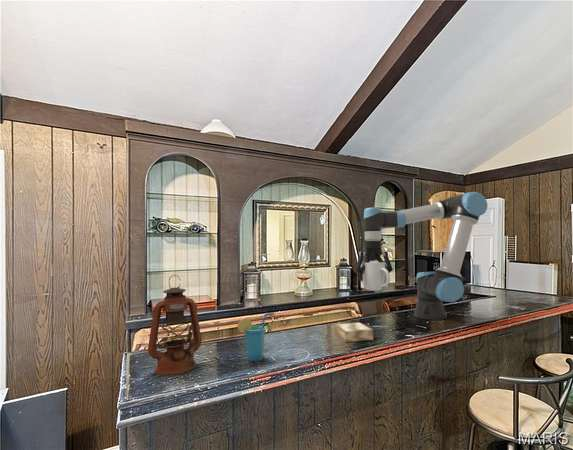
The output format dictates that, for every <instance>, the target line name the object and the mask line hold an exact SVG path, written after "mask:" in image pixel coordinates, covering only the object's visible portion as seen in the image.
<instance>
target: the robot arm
mask: <svg viewBox="0 0 573 450" xmlns="http://www.w3.org/2000/svg"><path fill="white" fill-rule="evenodd" d="M487 210H488V201H487V199H486V198H485V196H484V195H483V194H482V193H480V192H477V191H471V192H469V191H468V192H465V193H461V194H457V195H453V196H450V197H448V198H445V199H441V200H437V201H435V202H434V203H433V204H426V205H423V206H422V205H421V206H417V207H411V208H407V209H402V210H396V211H381V209H380V207H367V208H364V210H363V224H364V226H363V227H364V240H365V241H364V249H365V250H364V251H359V252H358V259H357V261H356V266H355V269H354V273H357V274H358V281H360V288H362V289H366V288H365V274H363V272H364V270H365V265H363V266H361V264H362V262H364V263H369V262H370V261H378V262H379V263H381V262H385V269H387V270H388V272H389V274H390V273H391V272H394V269H393V267H392V263H391V260H390V258H389V257H390V256H389V251H386V250H383V251H382V241H381V240H382V230H384V229H392V228H395V229H396V228H398V229H399V228H404V227H405V226H406V225H408V224H413V223H414V224H415V223H419V222H425V221H428V220H434V219H435V220H436V219H437V220H443V219H444V220H445V219H452V221H453V222H452V226H451V228H450V233H449V236H448V238H447V243H446V246H445V249H444V250H445V251H444V253H443V256H442V260H441V263H440V267H438V268H435V271H423V272H421V271H420V272H417V274H416V279H415V280H416V290H417V291H416V293H417V302H416V305H415V308H414V317H415V318H418V319H423V320H430V321H438V320H439V321H440V320H445V319H447V312H446V308H445V305H444V303H443V302H446V303H447V302H448V303H453V302H456V301H459V300H460V299H461V298H462V297H463V295H464V292H465V286H464V285H463V284H464V283H463V282H462V279H463V276H462V274H461V270H462V266H463V262H464V258H465V255H466V251H467V248H468V244H469V241H470V237H471V234H472V230H473V227H474V225H475V224H478V222H479V219H480V216H483V215H484V214H485V213H486V211H487ZM364 257H365V258H364ZM382 257H383V258H382ZM386 282H387V276H386V273H385V281H384V284H385V283H386ZM383 288H389V284H388V285H387V286H383Z"/></svg>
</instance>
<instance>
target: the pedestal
mask: <svg viewBox="0 0 573 450" xmlns="http://www.w3.org/2000/svg"><path fill="white" fill-rule="evenodd" d="M334 334H335V335H336V336H337V337H338V338H340V339H341V340H342V341H344V342H345V343H351V342H359V341H360V342H361V341H363V342H364V341H372V340H373V341H374V329H373V328H371V327H369V326H367V325H366V324H364V323H362V322H349V323H337V324H336V323H335V324H334Z"/></svg>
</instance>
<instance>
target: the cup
mask: <svg viewBox="0 0 573 450" xmlns="http://www.w3.org/2000/svg"><path fill="white" fill-rule="evenodd" d="M267 316H269V317H270V316H271V317H274V316H275V313H273V312H266V313H264V315H263V317H262V321H261V323H260V324H252V321H251V320H250V319H249V318H246V317H245V318H242V319H241V320H239V321H238V322H237V326H236V328H237V330H238V331H239V333H242V334H244V335H245V341H246V352H247V359H248V360H247V361H249V362H259V361H262V360H263V359H264V346H265V332H266V326H265V325H264V324H265V321H266V317H267Z"/></svg>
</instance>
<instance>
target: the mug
mask: <svg viewBox="0 0 573 450" xmlns="http://www.w3.org/2000/svg"><path fill="white" fill-rule="evenodd" d="M363 265H365V270H364V272H363V274H365V288H364V289H365V290H367V291H371V292H372V291H373V292H375V291H381V290H382V289H383V288H384V286H387V285H388V286H389V284H390V281H391V275H390V273H389V272H388V270H387V269H385V265H386V263H385V261H383V262H381V263H379V262H378V261H377V260H371V261H370V262H369V263H364V261H362V264H361V266H363ZM385 273H386V276H387V282H386V283H385V284H384V281H385Z"/></svg>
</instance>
